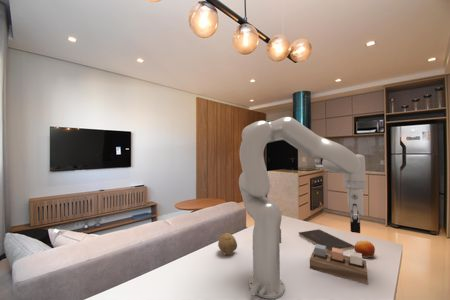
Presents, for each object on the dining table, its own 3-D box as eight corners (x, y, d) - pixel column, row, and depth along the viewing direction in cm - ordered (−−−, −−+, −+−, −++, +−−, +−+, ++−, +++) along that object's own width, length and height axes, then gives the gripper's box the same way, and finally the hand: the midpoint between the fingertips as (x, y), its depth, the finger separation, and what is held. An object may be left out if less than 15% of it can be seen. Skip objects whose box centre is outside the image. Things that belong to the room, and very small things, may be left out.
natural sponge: (213, 253, 98) (213, 233, 98) (227, 247, 104) (227, 228, 104) (226, 261, 91) (226, 238, 91) (240, 254, 97) (240, 233, 97)
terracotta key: (342, 261, 82) (342, 253, 82) (331, 258, 84) (331, 251, 84) (343, 256, 85) (343, 249, 85) (332, 254, 87) (332, 247, 87)
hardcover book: (329, 254, 97) (329, 249, 97) (298, 236, 119) (298, 232, 119) (354, 249, 102) (354, 245, 102) (319, 232, 124) (319, 229, 124)
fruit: (370, 259, 88) (361, 240, 92) (356, 261, 95) (348, 243, 99) (383, 257, 90) (374, 238, 95) (369, 259, 97) (361, 241, 101)
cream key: (362, 265, 78) (362, 258, 78) (350, 262, 80) (349, 255, 80) (361, 261, 82) (361, 253, 82) (350, 258, 84) (350, 251, 84)
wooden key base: (367, 284, 74) (367, 274, 74) (309, 268, 85) (309, 259, 85) (366, 268, 84) (366, 260, 84) (314, 256, 95) (314, 248, 95)
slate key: (325, 256, 85) (324, 249, 85) (314, 254, 87) (314, 247, 87) (326, 252, 89) (326, 246, 89) (316, 250, 91) (316, 243, 91)
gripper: (366, 188, 72) (368, 239, 72) (364, 182, 87) (365, 225, 87) (342, 187, 76) (343, 235, 76) (344, 181, 91) (345, 222, 91)
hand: (355, 229), depth 81 cm, fingers open, 5 cm apart
